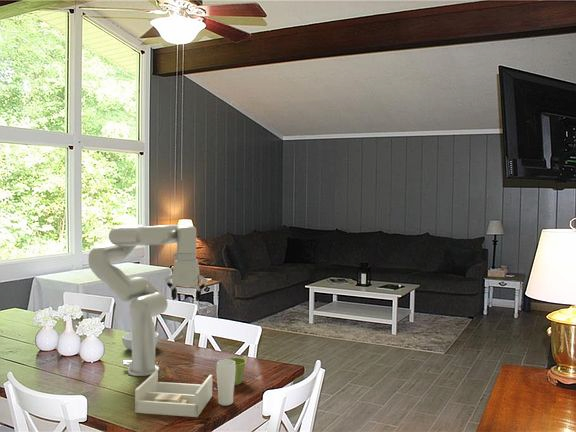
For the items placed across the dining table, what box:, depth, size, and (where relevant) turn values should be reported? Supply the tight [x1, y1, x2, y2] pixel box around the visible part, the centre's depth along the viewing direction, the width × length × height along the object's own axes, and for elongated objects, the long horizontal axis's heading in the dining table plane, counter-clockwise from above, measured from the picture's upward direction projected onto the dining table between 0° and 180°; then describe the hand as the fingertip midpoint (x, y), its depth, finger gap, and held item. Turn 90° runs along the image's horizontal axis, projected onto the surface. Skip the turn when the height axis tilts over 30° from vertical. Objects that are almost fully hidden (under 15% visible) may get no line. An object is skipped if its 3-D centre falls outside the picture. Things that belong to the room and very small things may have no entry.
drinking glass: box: [216, 358, 236, 407], centre depth 197 cm, size 7×7×15 cm
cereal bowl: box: [121, 331, 160, 351], centre depth 259 cm, size 17×17×7 cm
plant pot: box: [226, 357, 247, 386], centre depth 218 cm, size 9×9×9 cm
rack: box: [134, 371, 213, 418], centre depth 196 cm, size 22×19×8 cm
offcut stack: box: [154, 393, 187, 403], centre depth 191 cm, size 12×5×5 cm, turn 83°
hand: (186, 299), depth 219 cm, fingers open, 9 cm apart
